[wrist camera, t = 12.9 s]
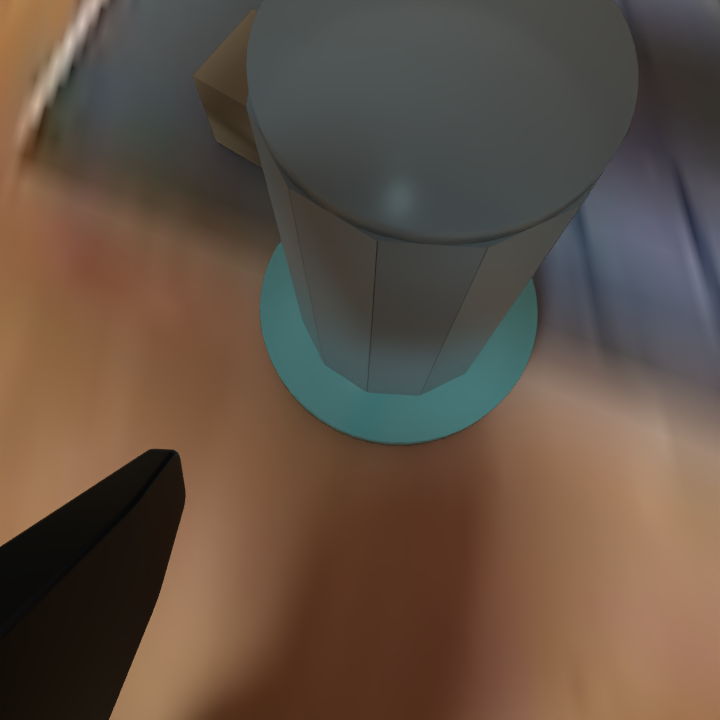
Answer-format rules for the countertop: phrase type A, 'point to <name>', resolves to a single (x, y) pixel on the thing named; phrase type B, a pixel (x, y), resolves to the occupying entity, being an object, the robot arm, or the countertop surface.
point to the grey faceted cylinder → (429, 163)
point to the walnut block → (229, 92)
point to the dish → (391, 411)
